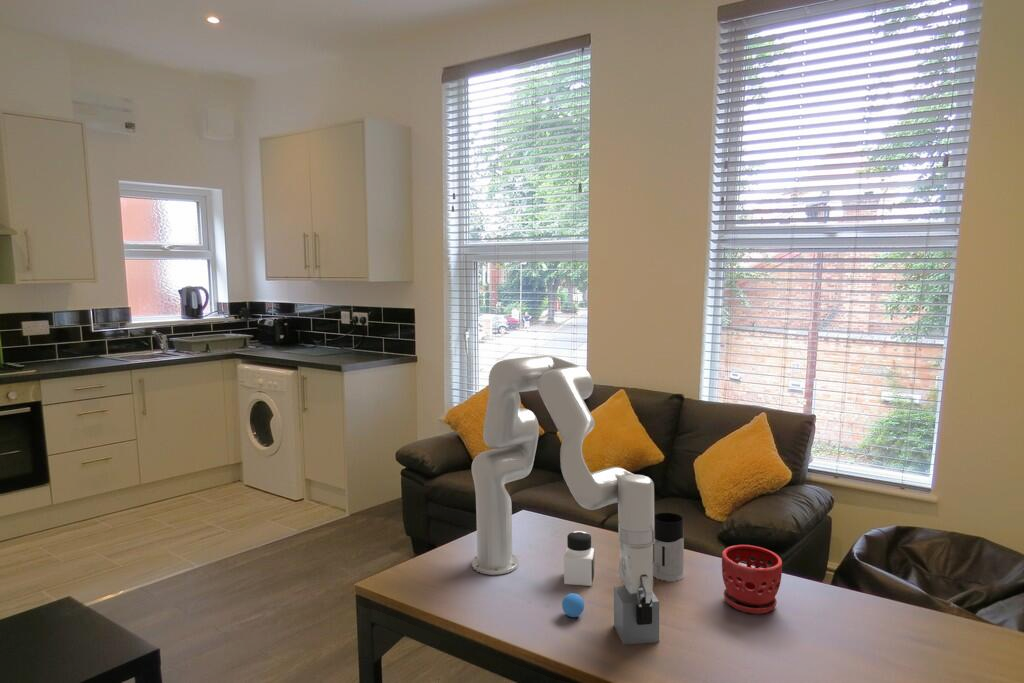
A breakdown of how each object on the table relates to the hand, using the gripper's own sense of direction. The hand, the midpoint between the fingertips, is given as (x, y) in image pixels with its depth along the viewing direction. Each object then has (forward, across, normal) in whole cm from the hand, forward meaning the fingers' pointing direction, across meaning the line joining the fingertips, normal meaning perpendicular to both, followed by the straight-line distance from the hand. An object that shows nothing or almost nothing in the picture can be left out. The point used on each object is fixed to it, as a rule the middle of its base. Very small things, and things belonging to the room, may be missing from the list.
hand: (637, 612), depth 137 cm
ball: (+2, -9, -12) cm, 16 cm away
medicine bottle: (+5, -27, -7) cm, 29 cm away
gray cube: (+5, 0, 0) cm, 5 cm away
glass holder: (+5, -26, +14) cm, 30 cm away
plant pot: (+5, -9, +30) cm, 32 cm away
